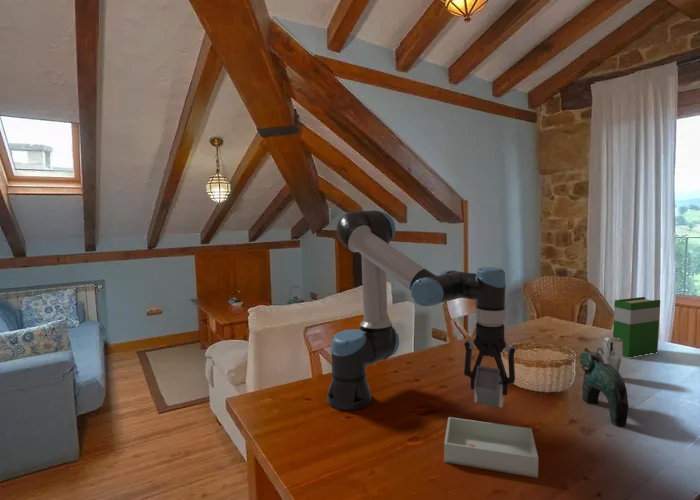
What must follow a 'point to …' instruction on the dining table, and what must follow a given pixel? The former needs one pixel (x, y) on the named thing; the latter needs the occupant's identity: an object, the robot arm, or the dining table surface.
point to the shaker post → (488, 385)
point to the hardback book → (637, 325)
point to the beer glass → (612, 351)
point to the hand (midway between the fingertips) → (488, 402)
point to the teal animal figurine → (604, 385)
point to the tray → (491, 446)
